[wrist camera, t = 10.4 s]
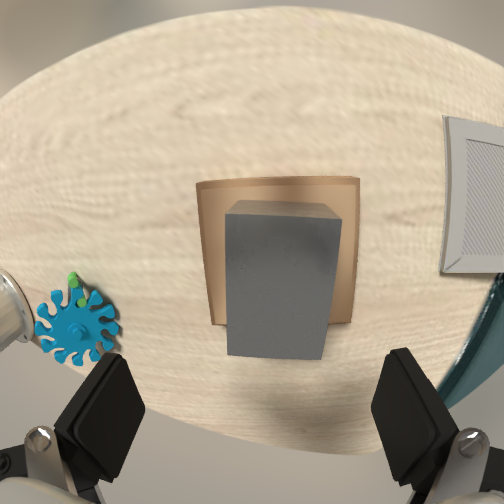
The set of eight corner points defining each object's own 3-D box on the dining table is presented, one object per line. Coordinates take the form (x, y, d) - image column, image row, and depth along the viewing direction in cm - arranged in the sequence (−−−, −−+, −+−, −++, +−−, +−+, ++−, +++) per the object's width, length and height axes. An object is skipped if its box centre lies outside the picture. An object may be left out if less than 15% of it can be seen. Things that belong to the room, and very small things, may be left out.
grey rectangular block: (239, 199, 19) (224, 213, 14) (324, 203, 19) (342, 219, 14) (238, 312, 22) (227, 355, 17) (312, 316, 22) (321, 359, 16)
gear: (118, 367, 28) (39, 370, 21) (105, 339, 32) (36, 339, 25) (125, 283, 26) (31, 278, 19) (112, 262, 30) (34, 256, 23)
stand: (217, 311, 26) (210, 329, 23) (204, 181, 22) (193, 183, 19) (345, 309, 24) (352, 326, 22) (351, 176, 21) (362, 178, 18)
